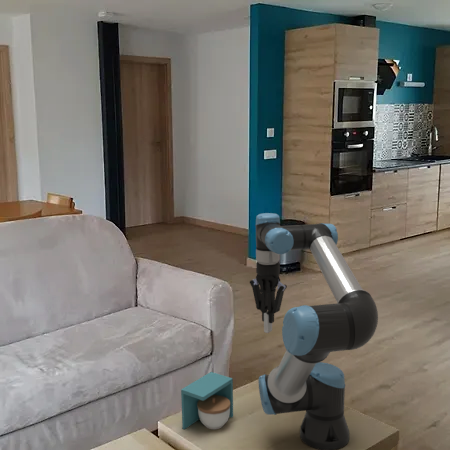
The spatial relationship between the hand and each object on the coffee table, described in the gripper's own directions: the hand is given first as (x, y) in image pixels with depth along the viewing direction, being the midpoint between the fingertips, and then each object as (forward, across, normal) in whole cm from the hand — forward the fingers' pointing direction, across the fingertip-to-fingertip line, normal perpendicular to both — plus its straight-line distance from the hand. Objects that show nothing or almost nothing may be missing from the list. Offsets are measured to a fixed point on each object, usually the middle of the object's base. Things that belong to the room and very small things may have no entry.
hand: (268, 331), depth 195 cm
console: (+29, +13, +16) cm, 36 cm away
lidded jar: (+30, +11, +16) cm, 35 cm away
